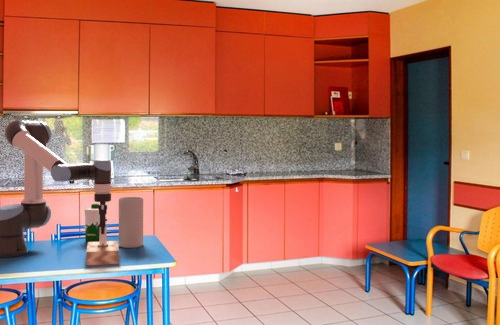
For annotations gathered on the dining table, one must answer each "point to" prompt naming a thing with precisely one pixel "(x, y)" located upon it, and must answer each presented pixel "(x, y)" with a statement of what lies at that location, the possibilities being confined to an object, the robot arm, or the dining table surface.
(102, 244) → the beige wooden bar
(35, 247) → the dining table surface
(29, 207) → the robot arm
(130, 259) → the dining table surface
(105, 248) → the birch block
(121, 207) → the cylinder vase
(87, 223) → the milk carton
